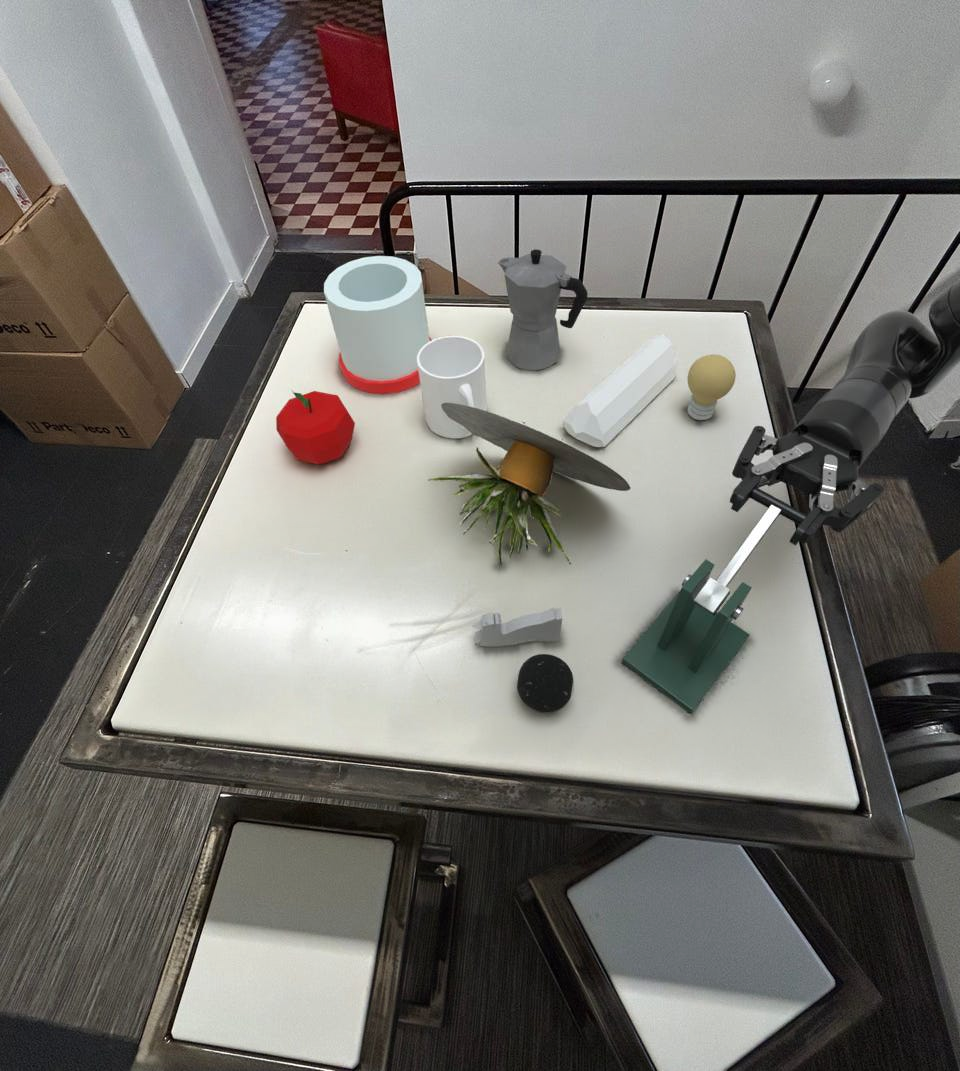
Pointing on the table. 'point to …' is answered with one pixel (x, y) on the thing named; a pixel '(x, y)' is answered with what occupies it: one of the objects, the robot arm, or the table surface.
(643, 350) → the crystal
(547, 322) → the coffeepot
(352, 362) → the container
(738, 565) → the switch lever
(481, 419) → the upside-down potted plant
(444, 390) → the mug
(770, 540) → the table surface
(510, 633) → the grey tape dispenser
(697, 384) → the light bulb
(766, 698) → the table surface
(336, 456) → the apple
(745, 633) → the switch bracket
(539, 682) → the billiard ball
